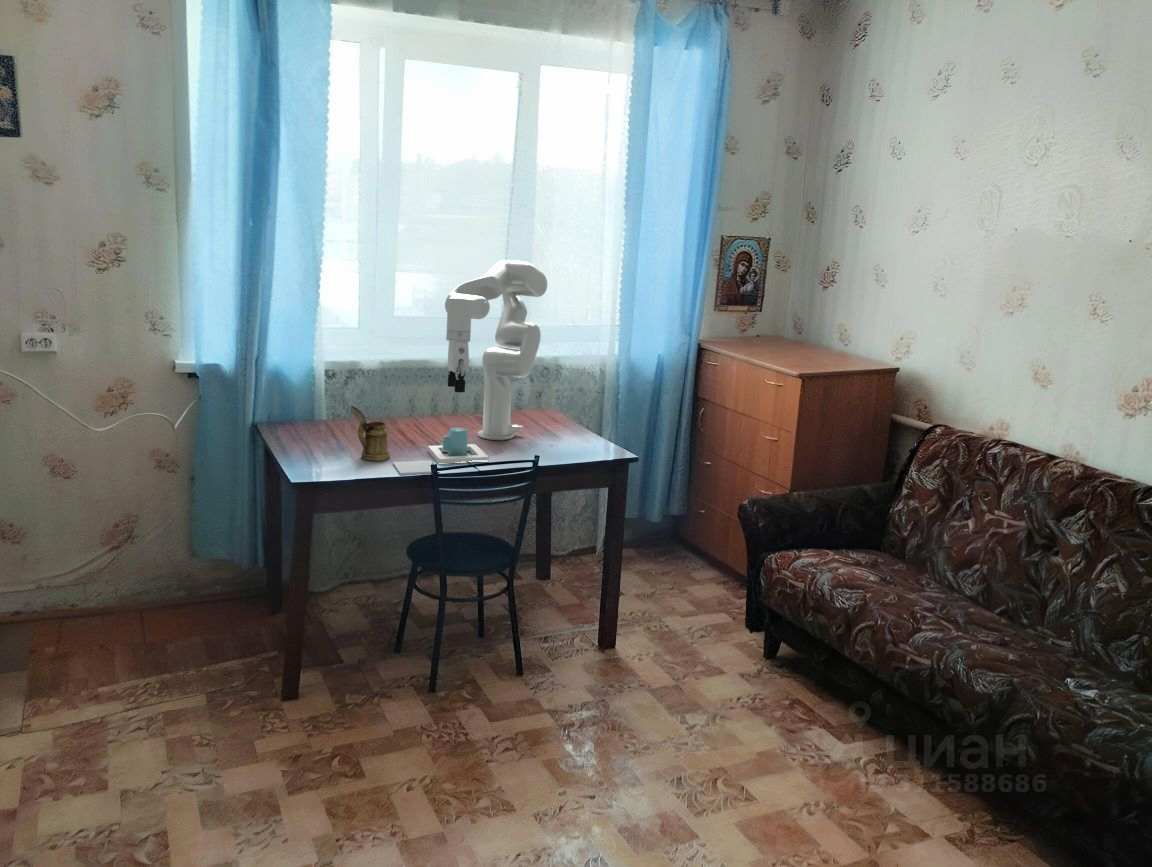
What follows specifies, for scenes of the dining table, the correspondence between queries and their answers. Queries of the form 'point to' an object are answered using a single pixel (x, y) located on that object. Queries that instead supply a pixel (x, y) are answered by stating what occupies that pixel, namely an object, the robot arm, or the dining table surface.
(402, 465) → the tile
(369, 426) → the wooden mug
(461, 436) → the jug
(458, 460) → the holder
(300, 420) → the dining table surface
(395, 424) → the dining table surface
